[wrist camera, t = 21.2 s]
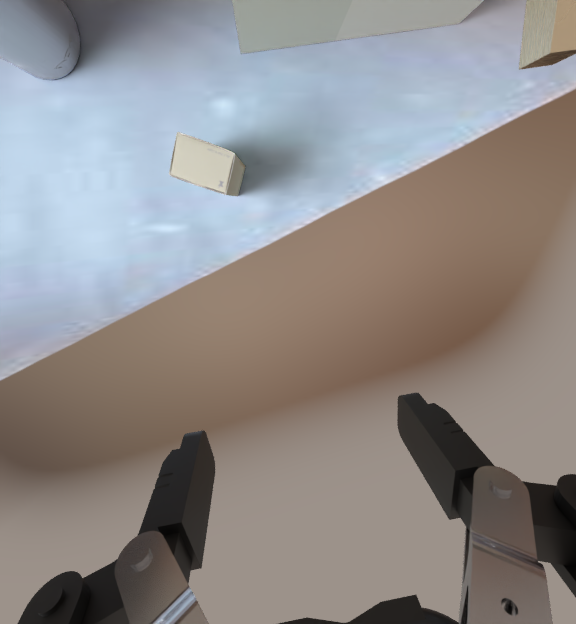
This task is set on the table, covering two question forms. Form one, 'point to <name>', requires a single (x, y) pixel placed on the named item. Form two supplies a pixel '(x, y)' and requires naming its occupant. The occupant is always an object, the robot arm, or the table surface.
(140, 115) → the table surface
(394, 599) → the robot arm
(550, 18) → the mallet
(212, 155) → the skincare box
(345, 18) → the stepped stand
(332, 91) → the table surface
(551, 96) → the table surface
